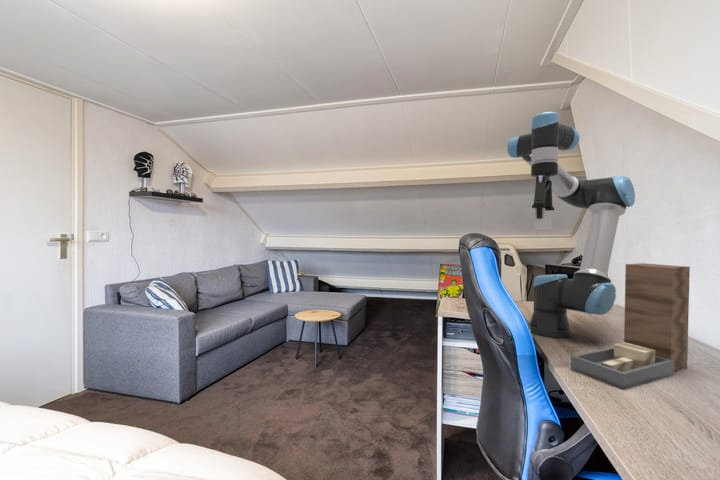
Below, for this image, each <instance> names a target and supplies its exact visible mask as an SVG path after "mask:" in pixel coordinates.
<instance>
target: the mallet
mask: <svg viewBox="0 0 720 480" xmlns="http://www.w3.org/2000/svg"><path fill="white" fill-rule="evenodd" d="M613 347H614V360H610V361H606V362H602V363H601V365H603V366H606V367H609V368H612V369H615V370H618V371H621V372H623V371H627V370H631V369H636V368H639V367H643V366H647V365H651V364H655V350H652V349H649V348H645V347H641V346H637V345H633V344H630V343H626V342H624V341H623V342H618V343H615V344H613Z"/></svg>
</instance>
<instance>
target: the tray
mask: <svg viewBox="0 0 720 480" xmlns="http://www.w3.org/2000/svg"><path fill="white" fill-rule="evenodd" d="M570 357H571V358H570V370H571V371H574V372H577V373H578V374H582V375H584V376H587V377H590V378H592V379H595V380H598V381H600V382H602V383H606V384H608V385H611V386H612V387H616V388H619V389H621V390H623V391H624V390H628V389H630V388H634V387H637V386H641V385H643V384H648V383H650V382H654V381H657V380H662V379H664V378H667V377H670V376H673V375H675V374H674V373H675V372H674V361H673V360H670V359H666V358H662V357H659V356H655V364H651V365H647V366H643V367H639V368H636V369H631V370H627V371H623V372H621V371H618V370H615V369H612V368H609V367H606V366H603V365H601V363H602V362H606V361H610V360H614V346H611V347H607V348H603V349H598V350H593V351H588V352H584V353H579V354H578V353H577V354H574V355H570Z"/></svg>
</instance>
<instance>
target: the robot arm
mask: <svg viewBox="0 0 720 480" xmlns="http://www.w3.org/2000/svg"><path fill="white" fill-rule="evenodd" d="M530 130H531V132H530V133H526V134H521V135H518V136H514V137H511V138H510V139H509V141H508V142H507V147H506V149H507V153H508V155H509V157H510V158H514V159H515V158H516V159H519V158H521V159H523V161H525V162H526V163H527V164H528V165H529V166H530V169H531V170H530V175H531V177H535V188H534V198H533V204H532V205H531V208H532V209H534V231H538V230H539V231H541V230H542V231H552V229H553V227H552V223H553V222H552V219H553V217H552V215H553V212H552V211H555V207H554V206H553V194H552V189H553V193H554V195H555V196H556V197H558V199H559V200H561V201H563V202H564V203H566V204H568V205H570V206H572V207H575V208H579V209H583V210H584V209H586V210H587V209H588V211H589V212H590V213H591V217H590V222H589V226H588V231H587V234H586V235H587V236H586V241H585V245H584V248H583V253H582V258H581V262H580V267H579V270H577V271H575V272H574V273H573V277H572V278H569V277H568V275H567V274H563V273H562V274H559V273H558V274H542V275H536V276H535V277H534V278H533V279H534V280H533V286H532V287H533V312H532V315H531V318H530V320H529V323H528V327H529V326H530V329H531V331H532V332H531V333H532V334H535V335H539V336H543V337H550V338H569V337H571V336H572V332H573V331H572V327H571V326H572V325H571V324H570V321H569V318H568V315H567V313H568V312H567V311H568V310H569V311H574V312H580V313H587V314H588V315H598V316H599V315H600V316H602V315H605V314H607V313H608V312H610V310H611V309H612V308H613V307H614V304H615V301H616V297H617V294H616V292H617V290H616V287H615V285H614V284H612V279H611V278H610V277H609V276H608V273H609V268H610V261H611V258H612V253H613V250H614V249H613V248H614V245H615V239H616V238H615V237H616V234H617V228H618V224H619V218H620V217H621V216H622V215H624V214H625V213H626V210H627V208H630V207H632V206H634V205H635V201H636V195H635V194H636V193H635V187H634V184H633V182H632V180H631V179H630V178H629V177H628V176H624V175H622V176H612V177H602V178H593V179H585V180H583V179H578V178H577V177H576V176H574V175H570V174H569V173H568V171H566V169H565V168H564V167H563V166H562V165H561V164H560V163H559V162H558V161H559V150H560V151H570V150H572V149H574V148H575V147H577V145H578V143H579V142H580V136H581V135H580V133H579V131H578V130H577V129H576V128H574V127H572V126H569V125H566V124H562V123H560V116H559V113H558V112H555V111H544V112H540V113H537V114H535V115H534V116H533V117H532V119H531V127H530Z"/></svg>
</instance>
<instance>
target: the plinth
mask: <svg viewBox="0 0 720 480" xmlns="http://www.w3.org/2000/svg"><path fill="white" fill-rule="evenodd" d="M690 270H691V269H690V266H687V265H685V266H684V265H671V264H658V263H645V262H643V263H641V262H639V263H626V264H625V276H624V278H625V283H624V284H625V285H624V327H623V328H624V331H623V332H624V338H623V342H626V343H630V344H633V345H637V346H641V347H645V348H649V349H652V350H655V356H659V357H662V358H666V359H670V360H673V361H674V373H675V372H679V371H683V370H686V369H688V355H689V354H688V352H689V349H688V348H689V346H688V345H689V313H690V312H689V311H690V310H689V309H690V308H689V306H690V304H689V303H690V272H691V271H690Z"/></svg>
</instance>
